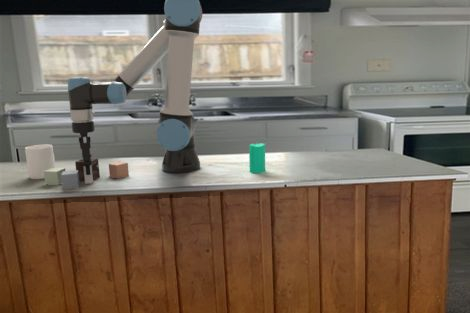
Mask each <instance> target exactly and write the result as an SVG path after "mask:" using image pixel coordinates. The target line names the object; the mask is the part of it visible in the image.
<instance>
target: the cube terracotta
mask: <svg viewBox="0 0 470 313" xmlns="http://www.w3.org/2000/svg"><path fill="white" fill-rule="evenodd" d="M108 171H109V172H108V173H109V177H111V178H115V179H121V178H125V177H128V176H130V175H129V163H128V162H126V161H121V160H120V161H115V162H111V163H108Z"/></svg>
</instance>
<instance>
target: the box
mask: <svg viewBox="0 0 470 313" xmlns="http://www.w3.org/2000/svg"><path fill="white" fill-rule="evenodd" d="M74 163H75V170H78V173H79V182H85V177H84V168H83V166H81V164H83V159H79V160H76V161H75V162H74ZM91 163H92V164H91V165H92V175H93V182H94V181H95V180H98V179H99V178H101V175H100V164H99V159H98V158H91Z"/></svg>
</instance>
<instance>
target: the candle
mask: <svg viewBox="0 0 470 313" xmlns="http://www.w3.org/2000/svg"><path fill="white" fill-rule="evenodd" d="M248 146H249V147H248V148H249V172H250V174H264V173H265V172H266V143H263V142H262V143H261V142H260V143H251V144H249V145H248Z"/></svg>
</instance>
